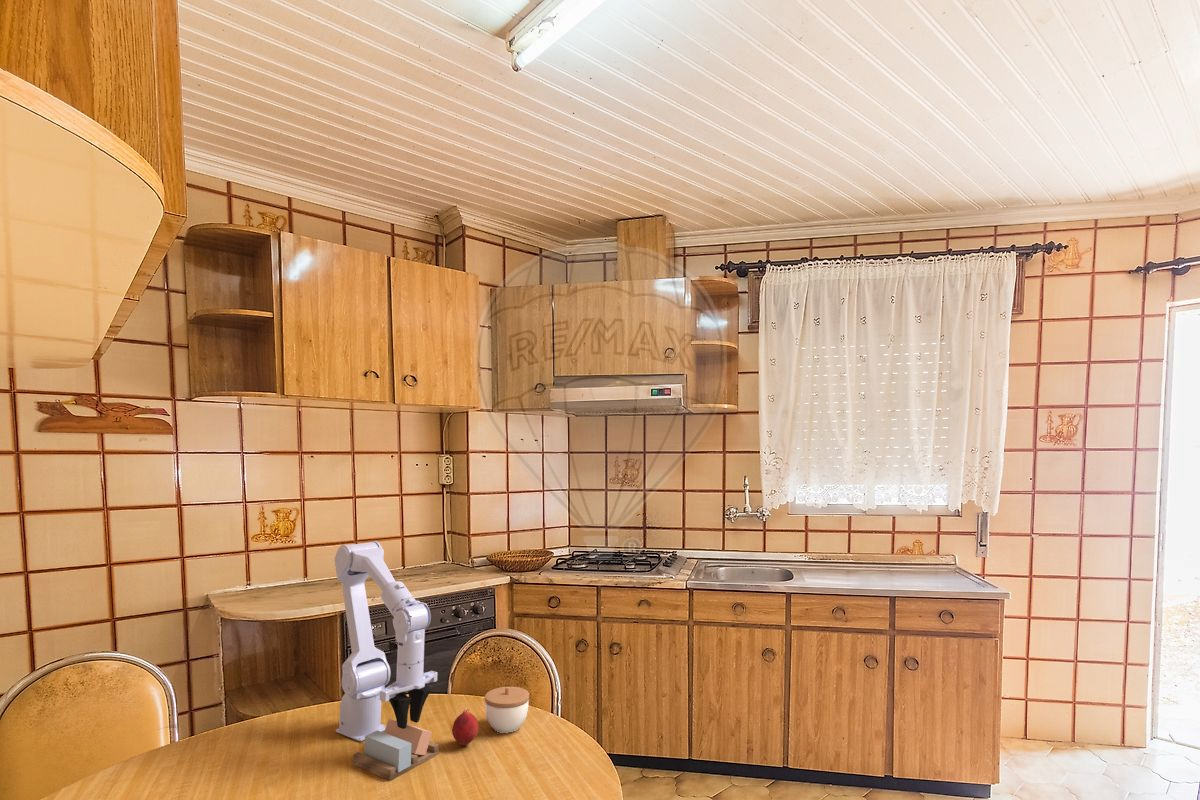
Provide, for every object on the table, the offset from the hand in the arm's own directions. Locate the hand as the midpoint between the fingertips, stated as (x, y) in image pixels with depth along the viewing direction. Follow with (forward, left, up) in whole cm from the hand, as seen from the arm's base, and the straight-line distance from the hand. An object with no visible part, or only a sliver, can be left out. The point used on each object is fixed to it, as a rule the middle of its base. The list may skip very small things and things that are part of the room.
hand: (408, 724), depth 132 cm
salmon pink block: (0, -1, -5) cm, 5 cm away
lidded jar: (+10, +22, -6) cm, 25 cm away
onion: (+8, +10, -6) cm, 14 cm away
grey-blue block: (0, -6, -5) cm, 8 cm away
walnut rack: (0, -3, -6) cm, 7 cm away
